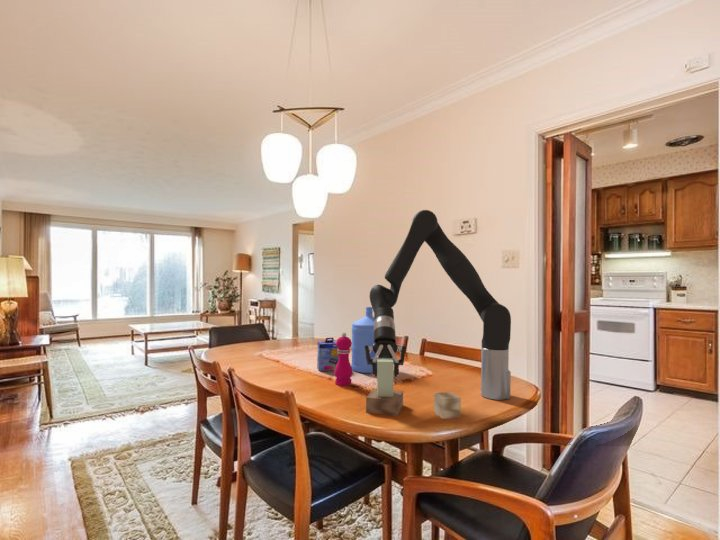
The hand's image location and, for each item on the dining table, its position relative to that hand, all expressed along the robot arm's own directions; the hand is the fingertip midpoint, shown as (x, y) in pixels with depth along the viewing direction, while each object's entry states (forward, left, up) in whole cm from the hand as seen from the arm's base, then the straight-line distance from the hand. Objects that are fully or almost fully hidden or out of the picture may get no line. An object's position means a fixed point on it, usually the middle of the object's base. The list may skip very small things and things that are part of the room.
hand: (385, 375), depth 121 cm
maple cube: (-19, +2, -11) cm, 22 cm away
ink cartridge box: (+23, -51, -11) cm, 57 cm away
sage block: (0, -2, -7) cm, 7 cm away
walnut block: (0, -2, -12) cm, 12 cm away
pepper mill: (+15, -29, -11) cm, 34 cm away
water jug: (+5, -52, -11) cm, 53 cm away
